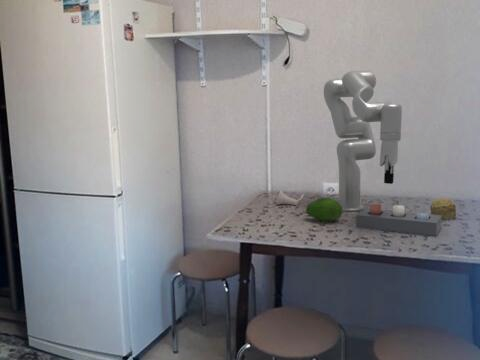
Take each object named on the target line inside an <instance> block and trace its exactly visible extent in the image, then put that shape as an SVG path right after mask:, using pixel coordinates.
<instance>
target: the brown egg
mask: <svg viewBox="0 0 480 360" xmlns="http://www.w3.org/2000/svg"><path fill="white" fill-rule="evenodd" d="M369 209H370V214H374V215H381V210H382V204H381V203H378V202H374V203H373V202H371V203H369Z"/></svg>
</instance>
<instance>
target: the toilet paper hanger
mask: <svg viewBox="0 0 480 360" xmlns="http://www.w3.org/2000/svg"><path fill="white" fill-rule="evenodd" d="M303 196H304V197H305V194H304V193H302V194H301V197H300V198H298V199H295V198H293V197H290V196H287V195H286V194H285V193H284V192H283V190H282V189H281V190H280V192H279V194H278V197H277V200H276V206H279V205H281V204H283V205H284V204H289V205H292V206H293V205H294V206H295V205H297V206H298V205H301V204H300V203H301V201H302V200H303V198H304V197H303Z"/></svg>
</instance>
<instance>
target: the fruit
mask: <svg viewBox="0 0 480 360" xmlns="http://www.w3.org/2000/svg"><path fill="white" fill-rule="evenodd" d="M332 198H333V197H321V198H318V199H315V200H314V201H311V202H310V203H308V204H307V205H306V209H305V213H306V214H307V215H308V216H309V217H311V218H314V219H317V220H318V221H322V222H335V221H337V220H338V219H340V218H341V216H342V214H343V212H344V211H343V210H342V207H341V205H340V204H339V203H338V202H337V201H336V200H334V199H332Z"/></svg>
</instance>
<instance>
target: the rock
mask: <svg viewBox="0 0 480 360" xmlns="http://www.w3.org/2000/svg"><path fill="white" fill-rule="evenodd" d="M429 208H430V214H433V215H442V221H444V220H445V221H449V220H450V221H452V220H455V219H456V217H457V210H456V204H455V203H454V202H453V201H452V200H450V198H449V199H448V198H445V197H440V198H436V199H434V200H433V201H432V202H431V204H430V207H429Z"/></svg>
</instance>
